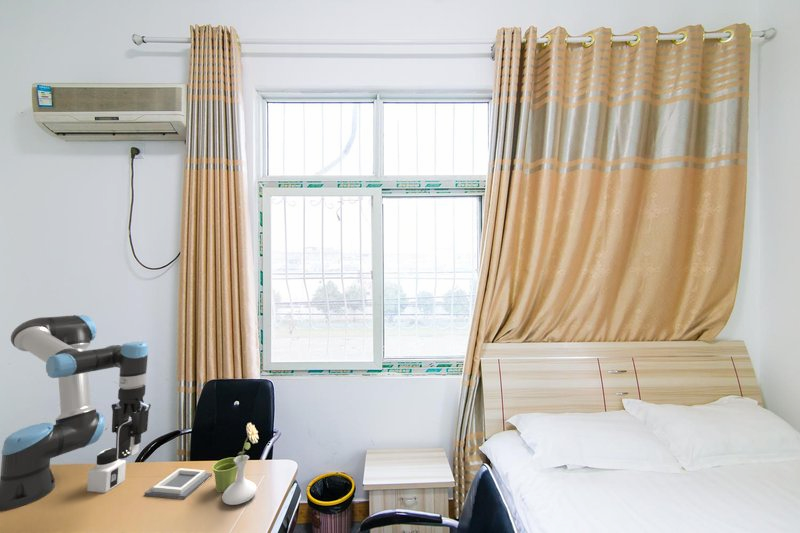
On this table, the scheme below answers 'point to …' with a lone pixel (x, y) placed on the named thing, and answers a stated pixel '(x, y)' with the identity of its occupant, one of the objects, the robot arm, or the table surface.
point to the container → (106, 472)
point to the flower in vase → (242, 475)
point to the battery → (123, 440)
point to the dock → (179, 483)
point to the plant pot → (224, 473)
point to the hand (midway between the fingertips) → (128, 452)
